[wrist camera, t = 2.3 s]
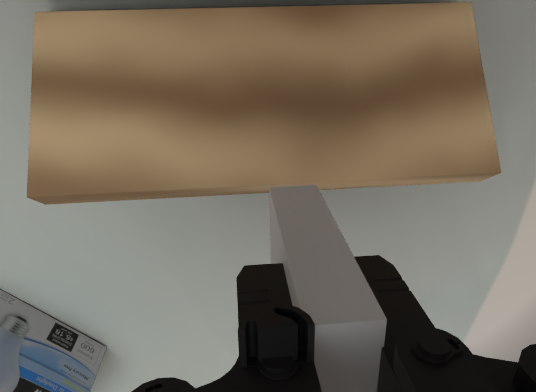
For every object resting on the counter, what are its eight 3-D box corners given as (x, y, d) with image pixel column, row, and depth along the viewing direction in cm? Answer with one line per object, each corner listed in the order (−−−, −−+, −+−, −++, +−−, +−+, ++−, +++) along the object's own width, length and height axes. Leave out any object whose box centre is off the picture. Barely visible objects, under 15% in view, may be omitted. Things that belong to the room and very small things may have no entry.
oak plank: (51, 33, 25) (34, 11, 23) (453, 23, 26) (471, 2, 24) (45, 204, 23) (26, 197, 21) (480, 181, 24) (501, 172, 22)
